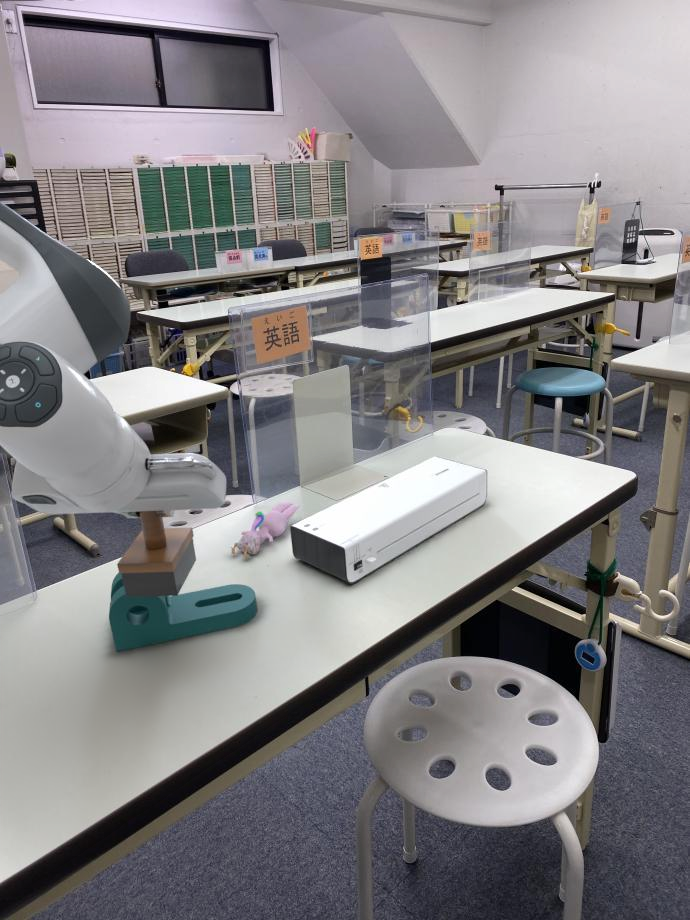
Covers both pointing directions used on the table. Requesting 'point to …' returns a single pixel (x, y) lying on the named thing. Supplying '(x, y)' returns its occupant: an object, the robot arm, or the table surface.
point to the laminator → (389, 518)
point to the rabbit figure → (265, 528)
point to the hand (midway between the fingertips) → (151, 511)
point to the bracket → (176, 614)
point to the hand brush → (157, 559)
